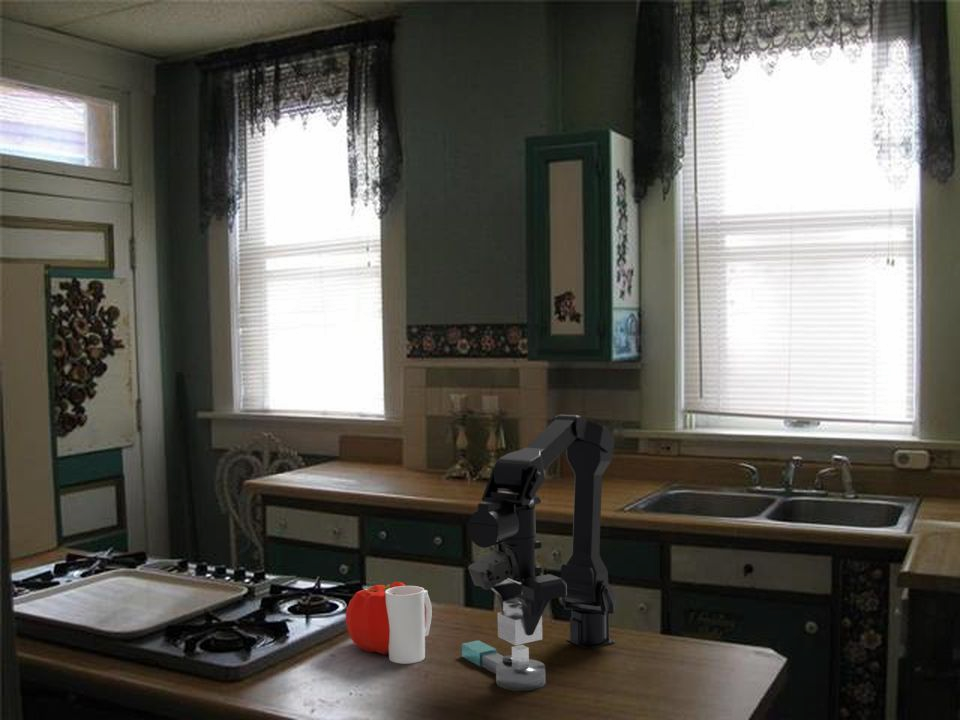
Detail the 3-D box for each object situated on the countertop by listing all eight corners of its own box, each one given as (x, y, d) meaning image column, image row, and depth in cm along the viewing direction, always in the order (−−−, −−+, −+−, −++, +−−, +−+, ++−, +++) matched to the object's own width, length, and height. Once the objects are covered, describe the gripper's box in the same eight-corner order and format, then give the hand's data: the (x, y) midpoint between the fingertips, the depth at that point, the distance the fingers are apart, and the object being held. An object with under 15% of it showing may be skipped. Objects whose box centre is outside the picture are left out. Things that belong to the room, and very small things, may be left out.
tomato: (389, 666, 172) (386, 597, 172) (330, 652, 181) (328, 587, 180) (439, 645, 182) (437, 581, 182) (382, 634, 191) (379, 572, 191)
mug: (407, 667, 172) (405, 597, 171) (379, 660, 176) (377, 592, 176) (446, 652, 179) (444, 584, 179) (418, 646, 184) (416, 580, 184)
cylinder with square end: (524, 631, 167) (523, 595, 167) (542, 639, 163) (541, 602, 163) (497, 636, 165) (497, 600, 164) (515, 645, 160) (514, 607, 160)
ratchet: (450, 659, 176) (449, 627, 175) (489, 651, 180) (488, 619, 180) (513, 694, 158) (513, 658, 158) (555, 684, 163) (554, 649, 162)
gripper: (446, 532, 167) (448, 625, 168) (507, 553, 151) (510, 656, 152) (502, 523, 173) (504, 614, 173) (567, 543, 157) (569, 642, 157)
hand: (520, 630), depth 164 cm, fingers closed on cylinder with square end, 5 cm apart
